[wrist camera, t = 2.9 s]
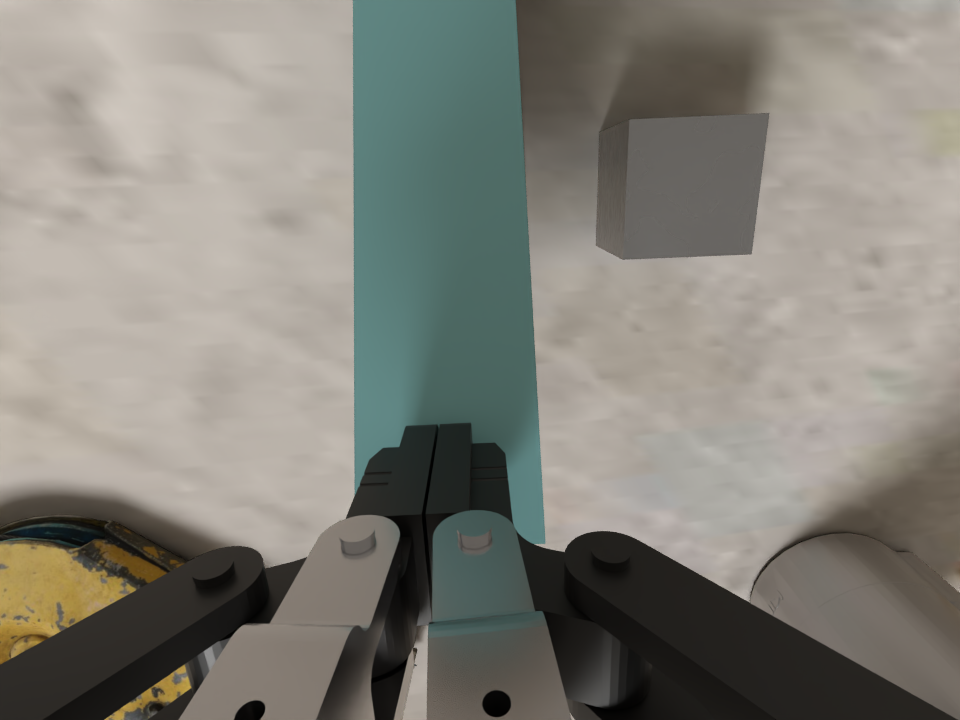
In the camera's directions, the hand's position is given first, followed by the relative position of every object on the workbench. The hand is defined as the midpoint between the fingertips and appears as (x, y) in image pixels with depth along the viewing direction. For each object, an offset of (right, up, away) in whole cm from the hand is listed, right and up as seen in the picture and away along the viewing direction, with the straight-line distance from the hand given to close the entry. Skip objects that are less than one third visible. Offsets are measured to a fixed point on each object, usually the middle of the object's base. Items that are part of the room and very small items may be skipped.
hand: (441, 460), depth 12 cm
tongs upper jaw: (0, +10, +4) cm, 10 cm away
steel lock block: (+9, +10, +12) cm, 18 cm away
